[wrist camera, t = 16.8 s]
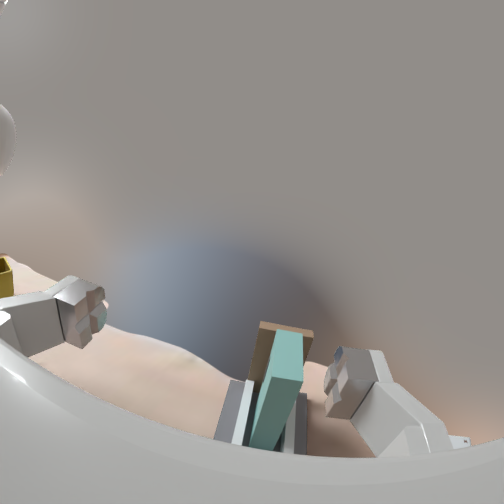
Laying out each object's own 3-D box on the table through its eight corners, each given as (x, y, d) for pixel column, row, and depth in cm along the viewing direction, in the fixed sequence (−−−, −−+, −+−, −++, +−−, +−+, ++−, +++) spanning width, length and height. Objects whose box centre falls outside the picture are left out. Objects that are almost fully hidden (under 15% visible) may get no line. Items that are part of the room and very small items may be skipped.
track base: (201, 481, 24) (205, 427, 20) (229, 384, 41) (241, 317, 37) (302, 497, 23) (346, 447, 19) (304, 398, 40) (330, 333, 36)
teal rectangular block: (247, 448, 29) (270, 376, 24) (255, 404, 36) (276, 328, 32) (272, 452, 29) (304, 381, 24) (277, 408, 36) (303, 333, 32)
